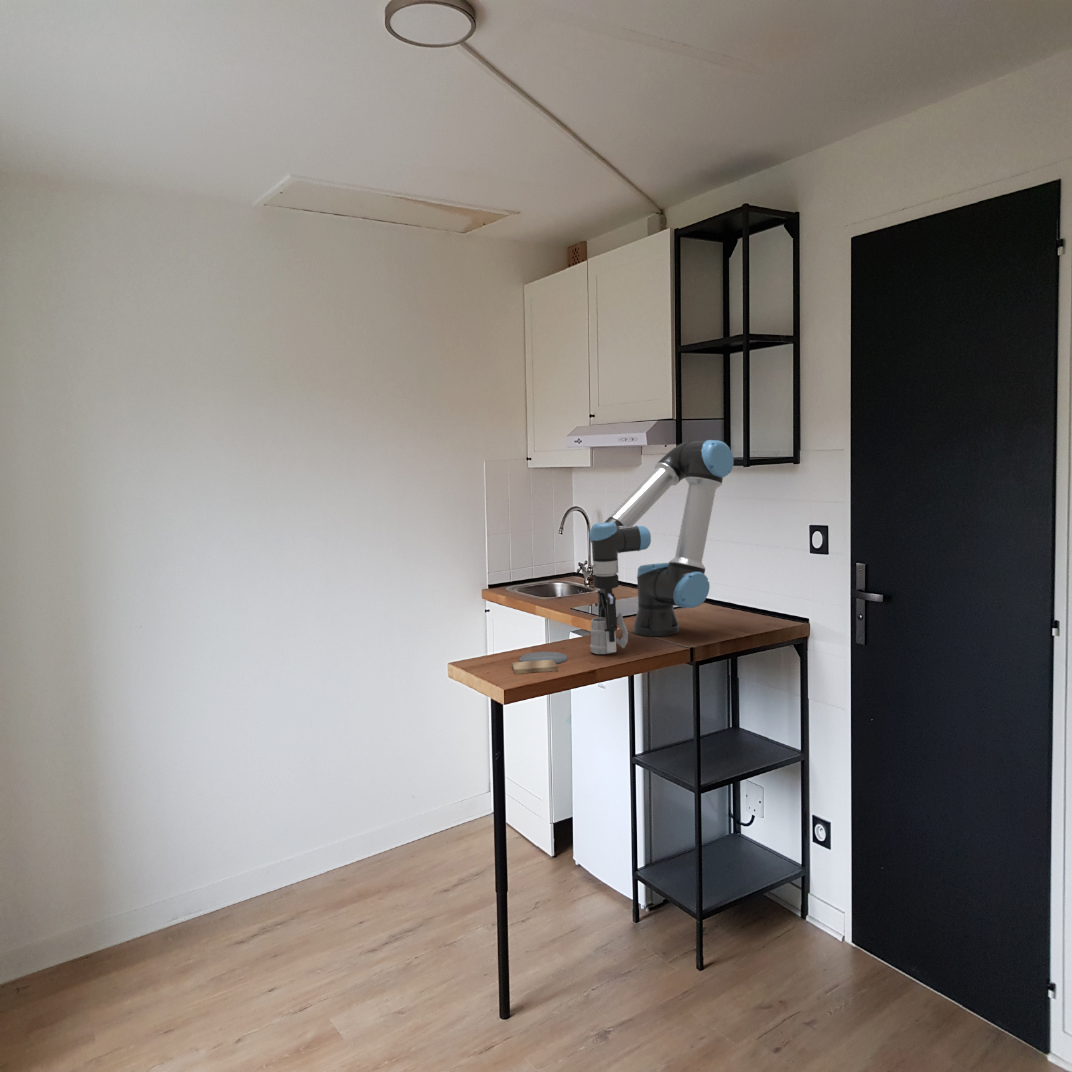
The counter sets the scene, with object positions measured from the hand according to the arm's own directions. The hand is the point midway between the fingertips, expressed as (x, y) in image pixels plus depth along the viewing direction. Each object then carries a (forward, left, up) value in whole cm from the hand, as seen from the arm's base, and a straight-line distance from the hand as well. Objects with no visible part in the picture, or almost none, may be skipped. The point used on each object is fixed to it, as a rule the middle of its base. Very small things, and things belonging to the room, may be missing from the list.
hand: (608, 648), depth 243 cm
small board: (+24, +13, -1) cm, 28 cm away
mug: (0, +1, -1) cm, 1 cm away
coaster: (+20, +3, -1) cm, 21 cm away
